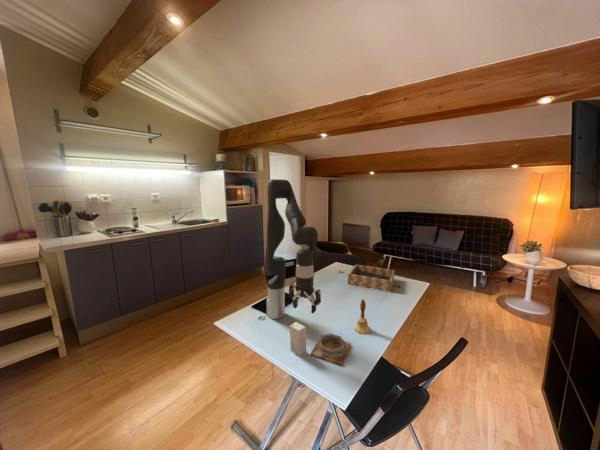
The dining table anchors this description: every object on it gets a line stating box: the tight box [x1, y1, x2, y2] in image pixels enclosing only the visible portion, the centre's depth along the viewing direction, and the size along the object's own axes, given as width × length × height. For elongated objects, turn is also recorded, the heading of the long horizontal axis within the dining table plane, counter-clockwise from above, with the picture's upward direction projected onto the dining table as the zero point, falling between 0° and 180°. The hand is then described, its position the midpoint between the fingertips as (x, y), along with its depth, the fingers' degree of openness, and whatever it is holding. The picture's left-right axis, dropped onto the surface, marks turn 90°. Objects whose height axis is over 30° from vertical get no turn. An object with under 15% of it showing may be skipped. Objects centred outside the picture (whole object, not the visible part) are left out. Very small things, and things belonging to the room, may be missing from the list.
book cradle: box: [347, 264, 395, 292], centre depth 178 cm, size 30×24×8 cm
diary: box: [355, 270, 391, 280], centre depth 179 cm, size 19×25×5 cm
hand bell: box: [353, 298, 371, 335], centre depth 118 cm, size 8×8×16 cm
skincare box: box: [289, 321, 307, 357], centre depth 102 cm, size 6×4×12 cm
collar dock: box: [310, 333, 352, 367], centre depth 104 cm, size 14×14×4 cm
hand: (304, 309), depth 101 cm, fingers open, 8 cm apart
